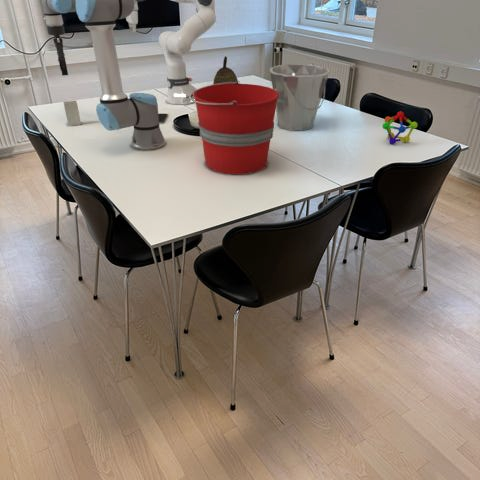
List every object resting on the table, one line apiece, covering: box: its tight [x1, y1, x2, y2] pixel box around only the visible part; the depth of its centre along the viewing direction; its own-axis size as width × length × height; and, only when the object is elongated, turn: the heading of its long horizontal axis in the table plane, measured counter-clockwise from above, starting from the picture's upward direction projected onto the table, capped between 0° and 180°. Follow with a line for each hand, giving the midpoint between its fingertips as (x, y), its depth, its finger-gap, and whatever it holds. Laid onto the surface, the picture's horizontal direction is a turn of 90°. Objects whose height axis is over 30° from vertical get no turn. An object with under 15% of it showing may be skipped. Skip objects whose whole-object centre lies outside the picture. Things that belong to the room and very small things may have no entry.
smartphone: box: [158, 113, 169, 124], centre depth 241 cm, size 7×1×15 cm
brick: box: [63, 100, 82, 127], centre depth 230 cm, size 5×6×11 cm
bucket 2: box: [269, 63, 330, 131], centre depth 226 cm, size 30×30×28 cm
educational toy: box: [382, 110, 418, 145], centre depth 207 cm, size 16×13×15 cm
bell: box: [212, 56, 239, 85], centre depth 278 cm, size 19×26×20 cm
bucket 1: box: [190, 81, 279, 175], centre depth 181 cm, size 35×35×30 cm
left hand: (64, 72), depth 220 cm, fingers open, 13 cm apart
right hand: (132, 30), depth 278 cm, fingers open, 8 cm apart
